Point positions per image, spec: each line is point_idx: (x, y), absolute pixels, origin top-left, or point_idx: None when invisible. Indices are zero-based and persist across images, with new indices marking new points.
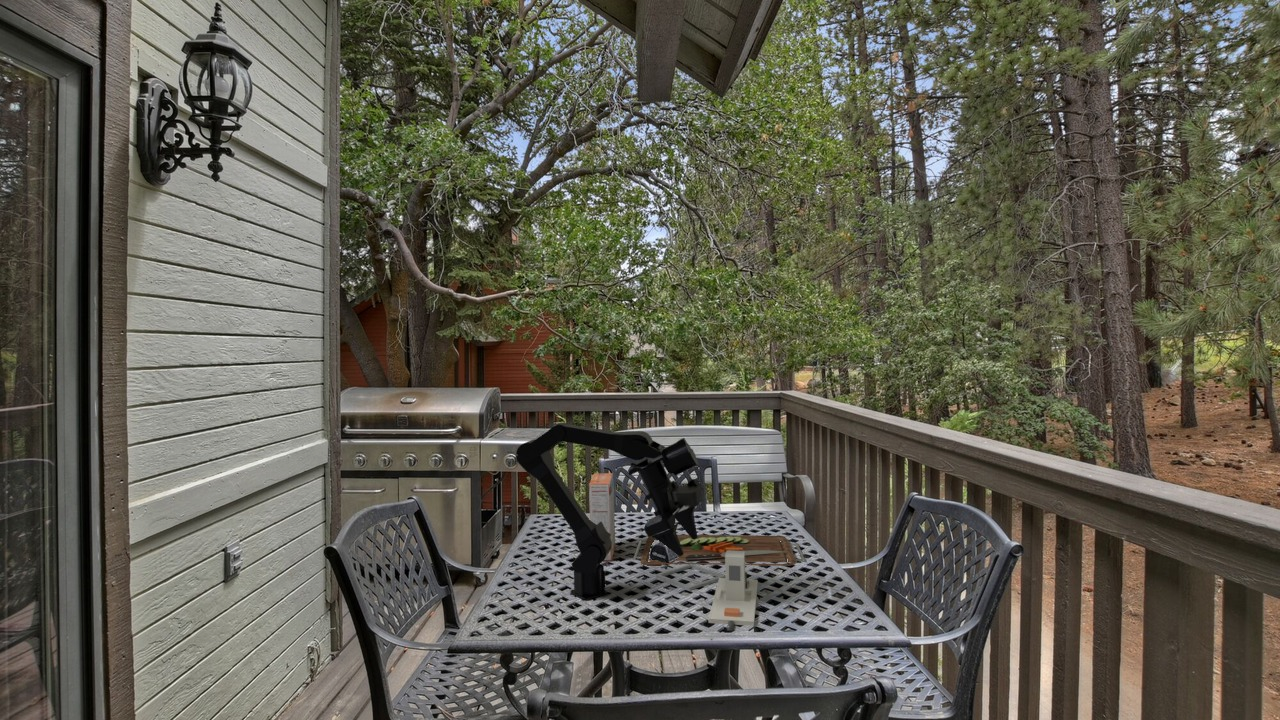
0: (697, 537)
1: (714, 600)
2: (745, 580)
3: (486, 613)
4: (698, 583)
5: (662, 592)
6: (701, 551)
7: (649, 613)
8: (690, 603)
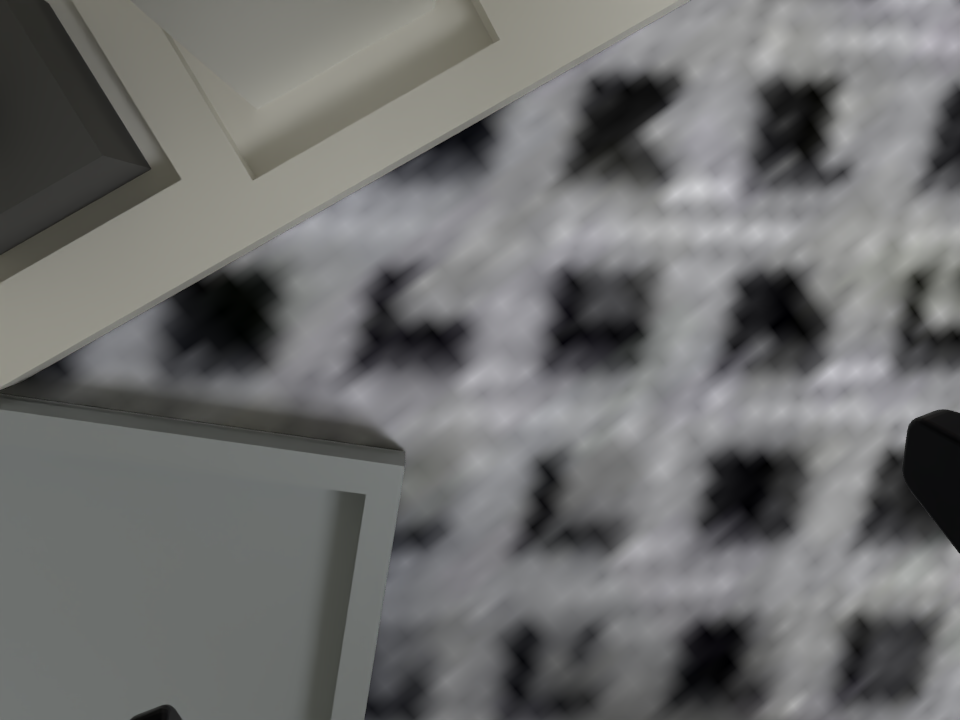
0: (142, 714)
1: (542, 63)
2: None
3: None
4: (252, 471)
5: (523, 650)
6: None
7: None
8: (576, 311)
